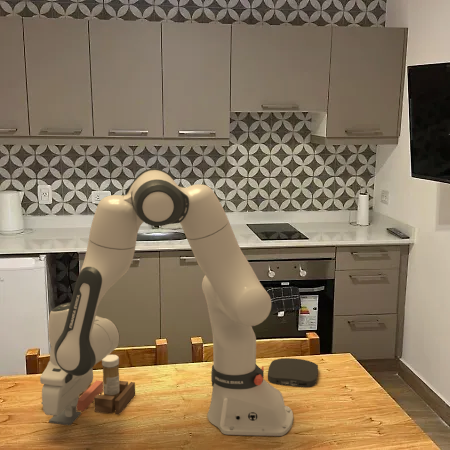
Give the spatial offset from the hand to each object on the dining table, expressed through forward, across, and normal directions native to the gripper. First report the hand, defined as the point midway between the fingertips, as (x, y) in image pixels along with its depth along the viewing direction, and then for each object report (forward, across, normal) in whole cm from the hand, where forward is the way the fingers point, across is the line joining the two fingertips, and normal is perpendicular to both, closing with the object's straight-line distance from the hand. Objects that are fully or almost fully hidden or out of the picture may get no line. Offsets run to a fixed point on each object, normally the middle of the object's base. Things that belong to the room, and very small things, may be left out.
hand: (71, 414), depth 151 cm
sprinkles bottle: (+2, -11, +6) cm, 13 cm away
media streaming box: (+2, -40, +53) cm, 66 cm away
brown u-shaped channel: (+2, -11, +8) cm, 13 cm away
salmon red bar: (+2, -11, 0) cm, 11 cm away
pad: (+2, 0, -2) cm, 3 cm away
